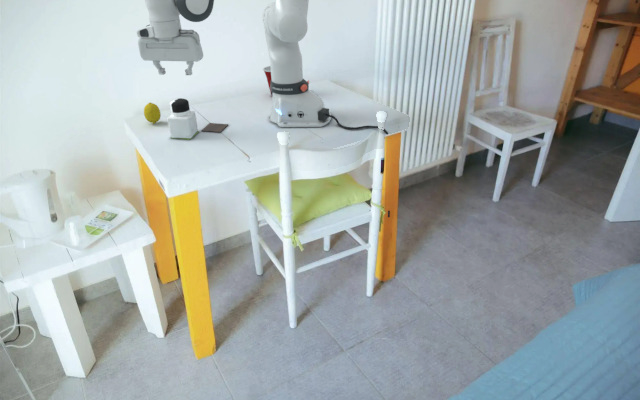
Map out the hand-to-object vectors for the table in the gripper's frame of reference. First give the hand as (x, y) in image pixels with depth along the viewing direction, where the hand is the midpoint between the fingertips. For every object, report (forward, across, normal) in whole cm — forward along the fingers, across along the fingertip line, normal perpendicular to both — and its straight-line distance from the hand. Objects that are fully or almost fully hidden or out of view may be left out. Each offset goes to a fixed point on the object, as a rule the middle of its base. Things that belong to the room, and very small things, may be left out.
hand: (175, 74), depth 148 cm
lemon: (+21, +17, -7) cm, 27 cm away
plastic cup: (+22, -18, -44) cm, 53 cm away
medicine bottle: (+20, 0, +1) cm, 20 cm away
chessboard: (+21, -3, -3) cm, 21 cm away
